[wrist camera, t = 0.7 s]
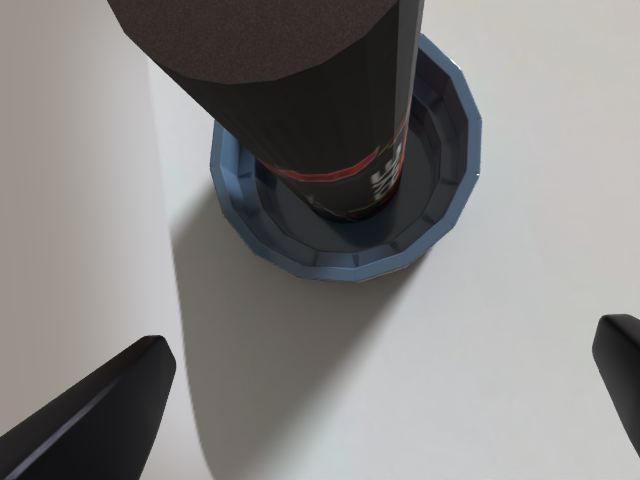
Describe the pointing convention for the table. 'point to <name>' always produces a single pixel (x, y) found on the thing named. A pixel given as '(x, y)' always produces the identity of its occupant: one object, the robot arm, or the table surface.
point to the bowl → (394, 220)
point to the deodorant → (297, 86)
